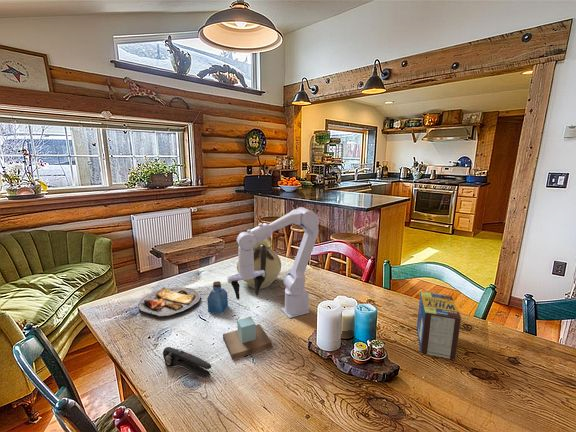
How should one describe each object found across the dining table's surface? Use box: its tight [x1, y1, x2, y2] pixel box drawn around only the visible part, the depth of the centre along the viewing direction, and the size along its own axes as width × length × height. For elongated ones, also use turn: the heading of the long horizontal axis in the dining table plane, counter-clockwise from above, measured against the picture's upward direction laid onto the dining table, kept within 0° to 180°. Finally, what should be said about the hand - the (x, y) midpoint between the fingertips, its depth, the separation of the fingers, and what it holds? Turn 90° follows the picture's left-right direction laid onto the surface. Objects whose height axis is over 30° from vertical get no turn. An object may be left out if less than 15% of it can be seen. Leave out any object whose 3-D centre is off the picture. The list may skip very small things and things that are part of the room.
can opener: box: [162, 346, 212, 377], centre depth 88 cm, size 18×7×6 cm, turn 65°
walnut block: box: [222, 323, 273, 361], centre depth 100 cm, size 14×12×2 cm
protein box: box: [416, 291, 462, 361], centre depth 99 cm, size 10×15×16 cm
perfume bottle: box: [206, 281, 229, 314], centre depth 121 cm, size 6×6×12 cm
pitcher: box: [236, 236, 282, 289], centre depth 144 cm, size 22×24×25 cm
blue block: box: [236, 316, 257, 343], centre depth 100 cm, size 5×5×6 cm
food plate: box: [137, 286, 201, 317], centre depth 127 cm, size 25×23×4 cm
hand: (247, 296), depth 112 cm, fingers open, 7 cm apart
